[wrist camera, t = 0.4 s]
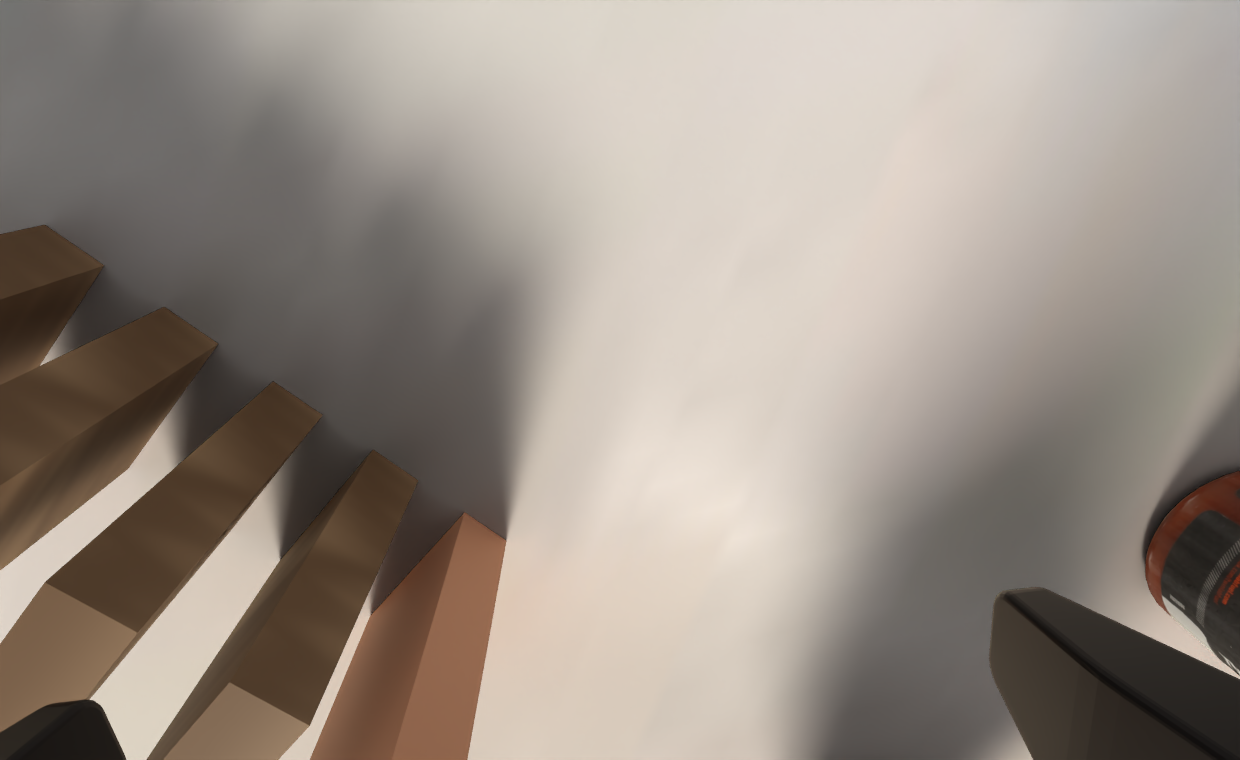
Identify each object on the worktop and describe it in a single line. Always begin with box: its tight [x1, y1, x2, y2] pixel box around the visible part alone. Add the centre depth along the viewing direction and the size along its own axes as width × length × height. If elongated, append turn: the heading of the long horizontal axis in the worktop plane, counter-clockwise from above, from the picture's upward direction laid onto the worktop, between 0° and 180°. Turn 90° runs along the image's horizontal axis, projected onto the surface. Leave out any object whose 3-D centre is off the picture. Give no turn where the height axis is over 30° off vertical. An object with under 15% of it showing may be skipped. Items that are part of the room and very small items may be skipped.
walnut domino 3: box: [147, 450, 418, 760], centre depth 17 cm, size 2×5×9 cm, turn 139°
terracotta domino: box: [310, 512, 506, 760], centre depth 18 cm, size 2×5×9 cm, turn 139°
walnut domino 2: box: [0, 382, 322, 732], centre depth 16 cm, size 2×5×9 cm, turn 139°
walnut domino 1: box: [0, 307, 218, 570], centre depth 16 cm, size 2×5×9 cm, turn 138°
